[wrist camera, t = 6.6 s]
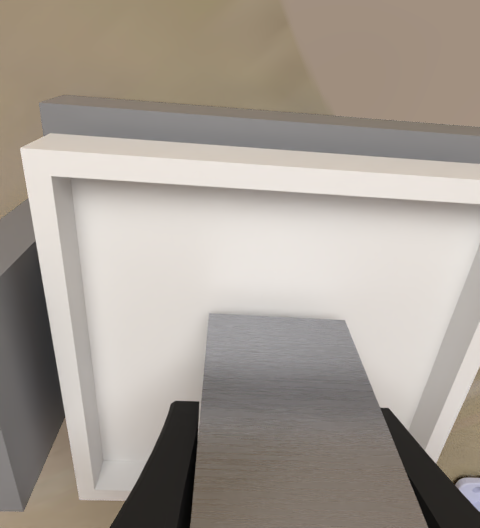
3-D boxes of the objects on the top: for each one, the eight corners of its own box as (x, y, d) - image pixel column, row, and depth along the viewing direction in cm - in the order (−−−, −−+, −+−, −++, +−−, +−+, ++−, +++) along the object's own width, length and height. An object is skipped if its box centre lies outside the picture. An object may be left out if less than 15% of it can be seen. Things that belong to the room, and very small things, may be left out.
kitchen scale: (484, 127, 14) (687, 191, 8) (385, 418, 21) (454, 579, 14) (-7, 89, 13) (-216, 128, 7) (53, 408, 20) (-28, 575, 13)
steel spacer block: (344, 320, 12) (430, 534, 7) (321, 415, 14) (375, 641, 9) (208, 313, 12) (190, 528, 7) (204, 410, 14) (187, 638, 9)
